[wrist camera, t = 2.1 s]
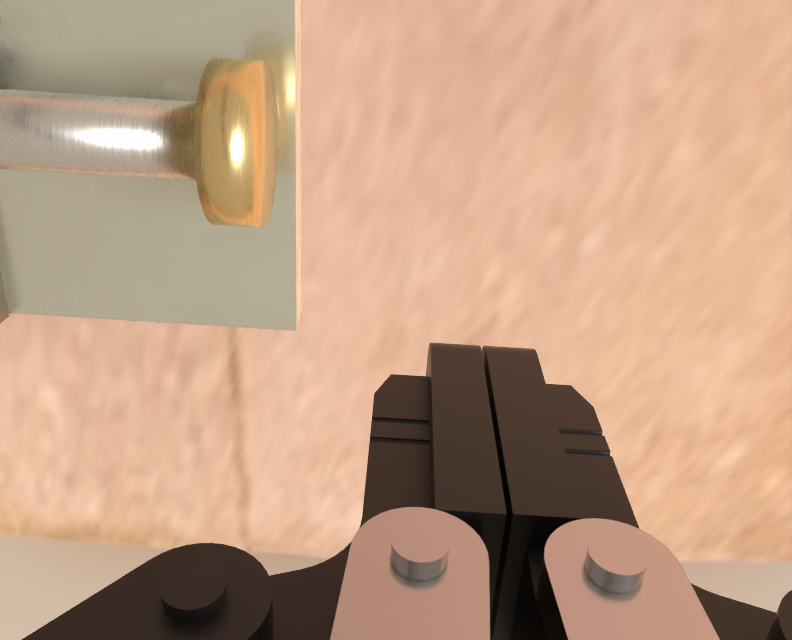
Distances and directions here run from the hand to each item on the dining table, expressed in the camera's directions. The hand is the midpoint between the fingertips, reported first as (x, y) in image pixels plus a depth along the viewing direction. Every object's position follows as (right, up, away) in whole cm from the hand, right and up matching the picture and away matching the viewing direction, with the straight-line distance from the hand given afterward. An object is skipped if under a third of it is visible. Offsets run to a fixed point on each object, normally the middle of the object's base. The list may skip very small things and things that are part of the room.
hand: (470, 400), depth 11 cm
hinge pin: (-13, +8, +14) cm, 21 cm away
